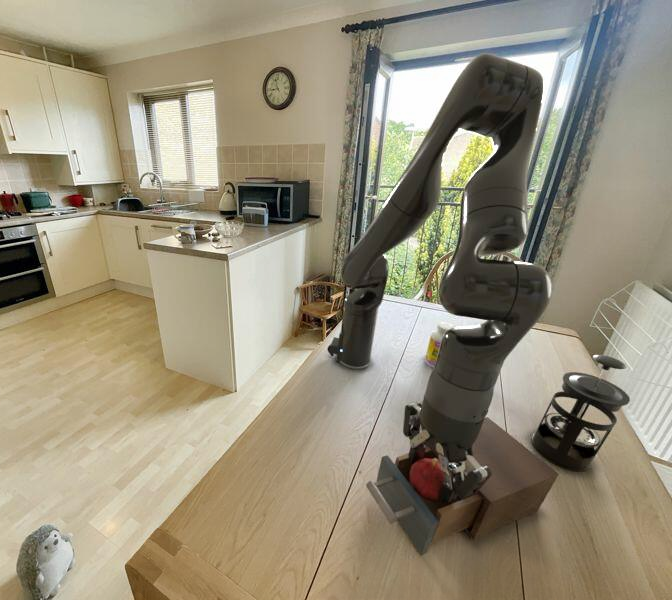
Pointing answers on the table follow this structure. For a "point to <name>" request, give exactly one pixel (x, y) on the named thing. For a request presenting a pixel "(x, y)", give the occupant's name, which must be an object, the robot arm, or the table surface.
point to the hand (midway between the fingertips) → (429, 479)
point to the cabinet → (507, 480)
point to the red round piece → (427, 478)
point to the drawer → (420, 505)
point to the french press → (580, 417)
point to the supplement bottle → (436, 342)
